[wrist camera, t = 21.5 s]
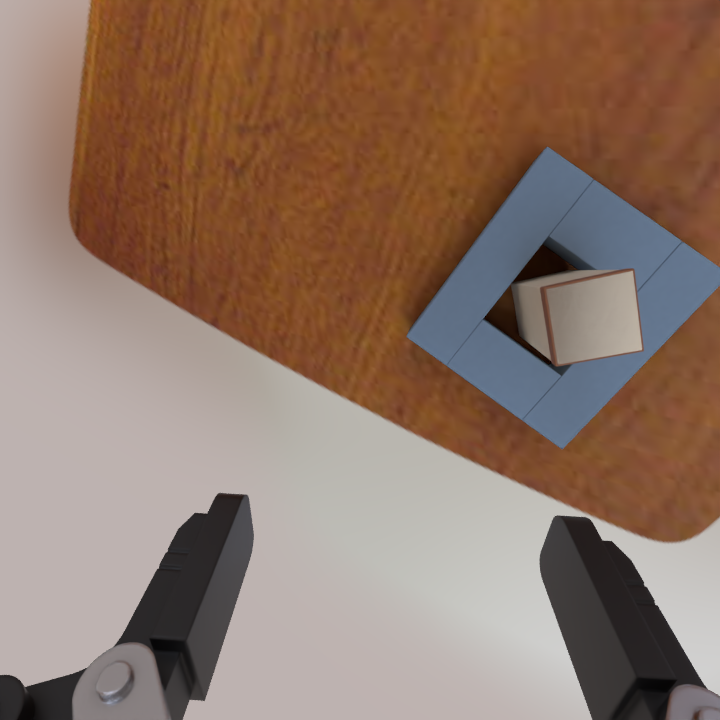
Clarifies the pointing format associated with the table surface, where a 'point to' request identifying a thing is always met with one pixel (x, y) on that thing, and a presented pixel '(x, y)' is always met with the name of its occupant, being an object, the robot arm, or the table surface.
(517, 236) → the blue square frame
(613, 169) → the table surface
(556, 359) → the brown square block
